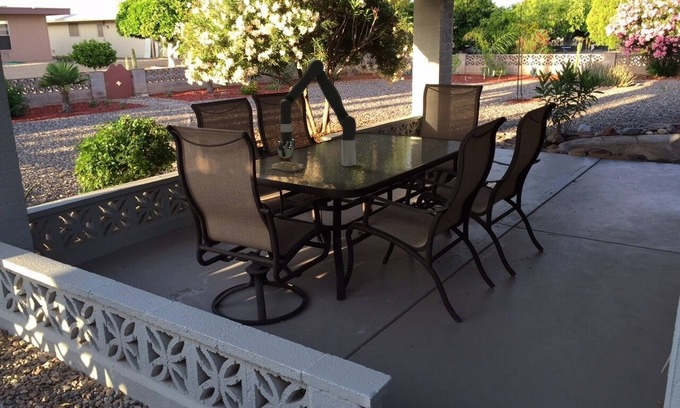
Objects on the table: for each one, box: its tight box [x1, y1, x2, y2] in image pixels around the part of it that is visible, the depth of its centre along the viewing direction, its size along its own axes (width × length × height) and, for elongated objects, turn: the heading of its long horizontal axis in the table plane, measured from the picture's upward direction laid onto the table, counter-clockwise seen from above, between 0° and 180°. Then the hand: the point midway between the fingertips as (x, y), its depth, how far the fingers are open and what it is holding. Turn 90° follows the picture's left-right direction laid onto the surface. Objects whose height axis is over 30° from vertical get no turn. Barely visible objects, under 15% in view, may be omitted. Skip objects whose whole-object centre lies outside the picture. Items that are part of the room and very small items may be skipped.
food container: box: [276, 145, 295, 163], centre depth 386 cm, size 12×6×10 cm, turn 59°
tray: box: [271, 161, 305, 172], centre depth 388 cm, size 12×18×3 cm, turn 51°
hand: (287, 156), depth 386 cm, fingers closed on food container, 6 cm apart
